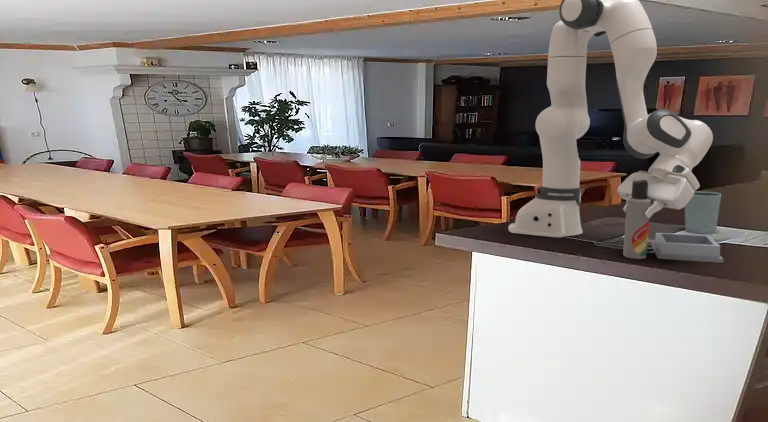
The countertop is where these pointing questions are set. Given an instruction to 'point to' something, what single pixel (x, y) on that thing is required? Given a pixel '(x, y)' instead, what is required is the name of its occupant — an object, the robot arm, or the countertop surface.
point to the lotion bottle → (637, 222)
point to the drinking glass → (702, 212)
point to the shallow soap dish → (687, 247)
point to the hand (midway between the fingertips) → (635, 213)
